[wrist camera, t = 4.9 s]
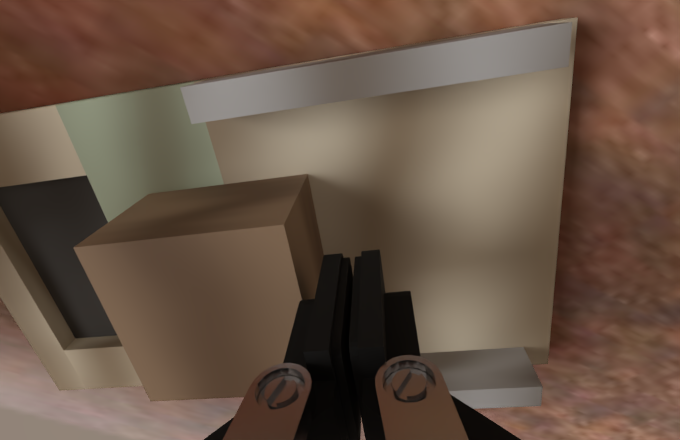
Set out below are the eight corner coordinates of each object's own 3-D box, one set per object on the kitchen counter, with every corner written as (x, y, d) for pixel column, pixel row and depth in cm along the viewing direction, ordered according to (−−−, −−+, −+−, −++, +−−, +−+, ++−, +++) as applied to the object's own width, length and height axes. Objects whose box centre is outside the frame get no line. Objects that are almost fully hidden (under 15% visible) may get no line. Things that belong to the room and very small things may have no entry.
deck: (562, 18, 12) (617, 14, 9) (538, 346, 17) (569, 404, 14) (-76, 126, 15) (-175, 146, 12) (73, 374, 20) (27, 427, 18)
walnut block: (307, 173, 14) (283, 224, 10) (335, 311, 16) (324, 392, 12) (148, 193, 14) (73, 247, 11) (198, 322, 17) (150, 401, 13)
